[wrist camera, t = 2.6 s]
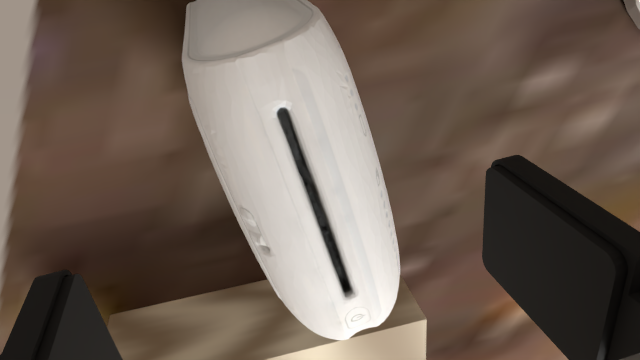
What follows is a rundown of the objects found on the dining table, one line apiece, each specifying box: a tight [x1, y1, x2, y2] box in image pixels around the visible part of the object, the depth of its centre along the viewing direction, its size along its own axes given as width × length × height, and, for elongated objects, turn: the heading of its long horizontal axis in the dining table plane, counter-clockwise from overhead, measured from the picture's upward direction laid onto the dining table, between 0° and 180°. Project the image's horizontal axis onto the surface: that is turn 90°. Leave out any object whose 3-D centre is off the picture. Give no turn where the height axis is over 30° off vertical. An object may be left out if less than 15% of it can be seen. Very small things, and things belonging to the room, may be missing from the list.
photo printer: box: [182, 0, 400, 340], centre depth 17 cm, size 10×4×12 cm, turn 17°
